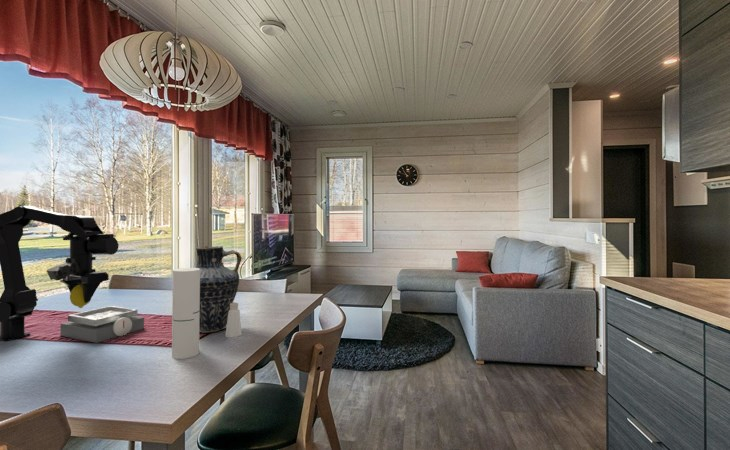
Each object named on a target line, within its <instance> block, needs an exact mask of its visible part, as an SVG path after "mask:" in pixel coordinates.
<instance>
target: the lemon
mask: <svg viewBox="0 0 730 450" xmlns="http://www.w3.org/2000/svg"><path fill="white" fill-rule="evenodd" d="M69 293H70V292H69ZM69 300H70V302H71V304H72V305H74V306H75V307H78V308H80V309H82V308H83V307H85V306H86V305H88V304H89V303H90V302H91V300H90V301H89V302H88V303H85V302H84V296H83V289H82V287H81V286H80V285H78V286H76V287H74V288H73V289H72V291H71V293H70V295H69Z"/></svg>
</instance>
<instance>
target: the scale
mask: <svg viewBox="0 0 730 450" xmlns="http://www.w3.org/2000/svg"><path fill="white" fill-rule="evenodd" d="M143 329H145V317H144V316H138V315H137V316H133V317H129V318H126V317H123V318H120V319H118V320H117V321H114V322H110V323H106V324H102V325H99V326H92V325H86V324H81V323H75V322H70V321H66V322H61V323H60V336H61V337H66V338H70V339H76V340H81V341H85V342H91V343H96V344H97V343H102V342H104V341H107V339H108V340H110V338H111V339H114V338H116V337H117V336H118V337H123V335H124V336H125V335H127V333H128V334H131V333H134V332H137V331H141V330H143ZM118 337H117V338H118Z"/></svg>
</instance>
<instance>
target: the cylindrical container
mask: <svg viewBox="0 0 730 450" xmlns="http://www.w3.org/2000/svg"><path fill="white" fill-rule="evenodd" d="M171 299H172V300H171V301H172V305H171V307H172V309H171V311H172V313H171V319H172V320H171V321H172V322H171V357H172V358H173V359H175V360H184V359H190V358H193V357H196V356H198V355H199V353H200V332H199V318H200V311H199V310H200V269H199V268H195V267H181V268H175V269H172V298H171Z"/></svg>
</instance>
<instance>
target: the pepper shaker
mask: <svg viewBox="0 0 730 450" xmlns="http://www.w3.org/2000/svg"><path fill="white" fill-rule="evenodd" d="M240 336H242V321H241V314H240V309H239V303H238V302H233V303H230V310H229V312H228V320H227V325H226V331H225V337H226V338H230V339H231V338H237V337H240Z"/></svg>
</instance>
